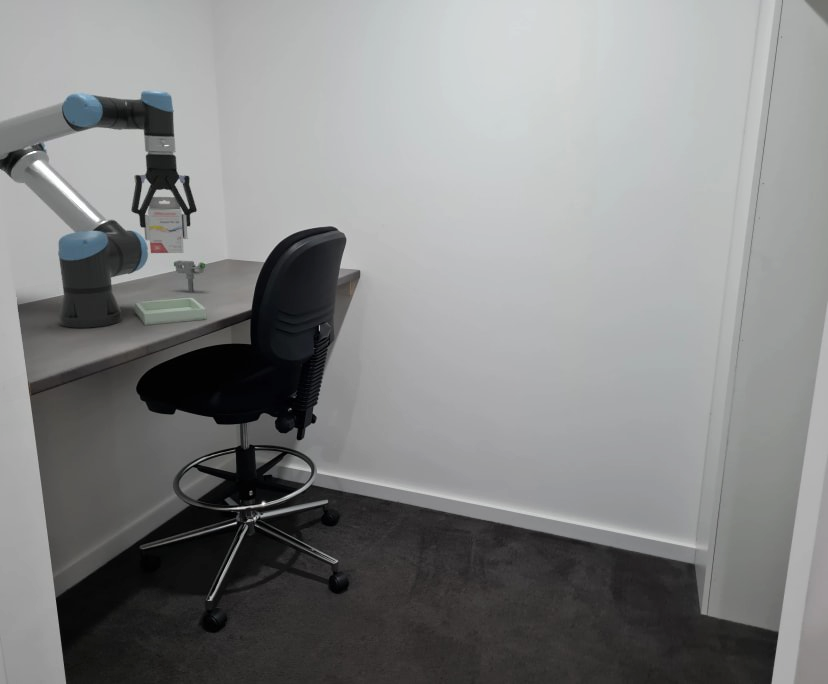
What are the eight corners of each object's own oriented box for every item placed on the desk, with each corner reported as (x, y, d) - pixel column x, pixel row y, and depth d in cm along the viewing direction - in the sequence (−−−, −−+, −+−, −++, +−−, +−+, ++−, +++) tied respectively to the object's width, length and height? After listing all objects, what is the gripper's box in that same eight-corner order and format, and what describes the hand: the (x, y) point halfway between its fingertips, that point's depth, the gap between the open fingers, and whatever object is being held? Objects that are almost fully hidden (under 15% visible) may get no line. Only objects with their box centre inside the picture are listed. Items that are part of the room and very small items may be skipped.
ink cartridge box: (150, 253, 180) (146, 197, 176) (151, 251, 184) (146, 196, 180) (184, 253, 183) (180, 198, 179) (183, 250, 187) (180, 196, 183)
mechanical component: (203, 293, 218) (201, 263, 216) (174, 291, 220) (172, 261, 218) (207, 291, 221) (205, 261, 218) (179, 290, 223) (177, 260, 220)
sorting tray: (145, 325, 177) (144, 314, 176) (135, 312, 190) (134, 302, 190) (206, 319, 185) (206, 308, 184) (192, 307, 198) (192, 297, 198)
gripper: (118, 152, 168) (126, 242, 174) (206, 154, 179) (210, 239, 185) (113, 152, 174) (121, 239, 180) (198, 154, 185) (203, 236, 191)
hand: (166, 239), depth 183 cm, fingers closed on ink cartridge box, 9 cm apart
